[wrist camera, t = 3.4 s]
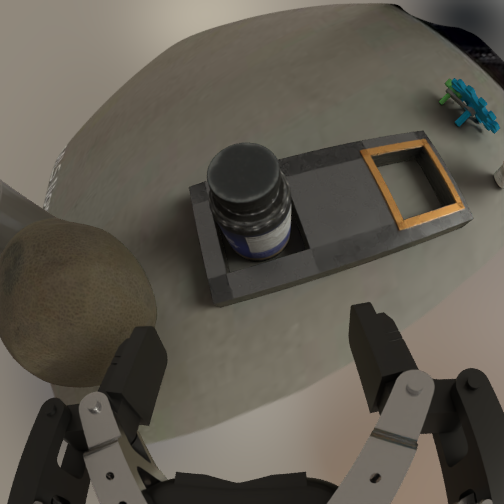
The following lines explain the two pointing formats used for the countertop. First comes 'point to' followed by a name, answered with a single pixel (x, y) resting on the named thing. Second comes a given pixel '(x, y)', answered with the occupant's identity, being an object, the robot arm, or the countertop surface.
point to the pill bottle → (250, 200)
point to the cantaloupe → (70, 300)
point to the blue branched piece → (469, 104)
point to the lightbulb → (500, 176)
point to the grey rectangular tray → (336, 215)
